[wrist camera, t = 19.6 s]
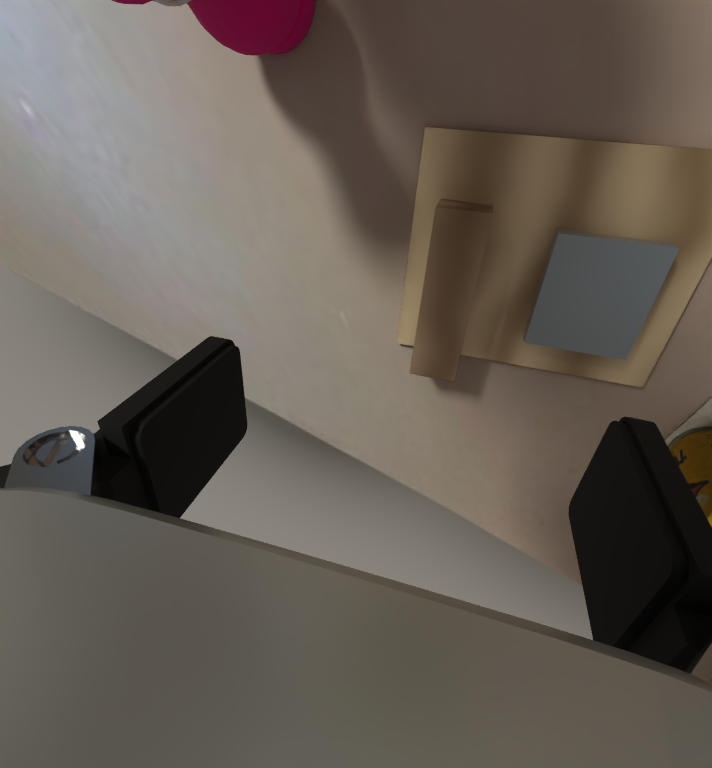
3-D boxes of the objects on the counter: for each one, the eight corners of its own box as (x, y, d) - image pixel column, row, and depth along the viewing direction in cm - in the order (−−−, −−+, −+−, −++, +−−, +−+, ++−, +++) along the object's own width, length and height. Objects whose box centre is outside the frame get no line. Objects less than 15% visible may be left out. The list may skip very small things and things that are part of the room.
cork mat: (397, 340, 41) (396, 343, 41) (425, 127, 31) (424, 127, 31) (640, 384, 37) (642, 387, 36) (761, 153, 27) (766, 154, 27)
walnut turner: (416, 353, 41) (409, 373, 37) (440, 198, 33) (435, 207, 30) (457, 360, 40) (454, 382, 37) (492, 204, 32) (492, 213, 29)
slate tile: (555, 228, 32) (522, 333, 37) (558, 233, 30) (523, 342, 35) (670, 242, 30) (620, 350, 35) (679, 248, 29) (625, 360, 34)
